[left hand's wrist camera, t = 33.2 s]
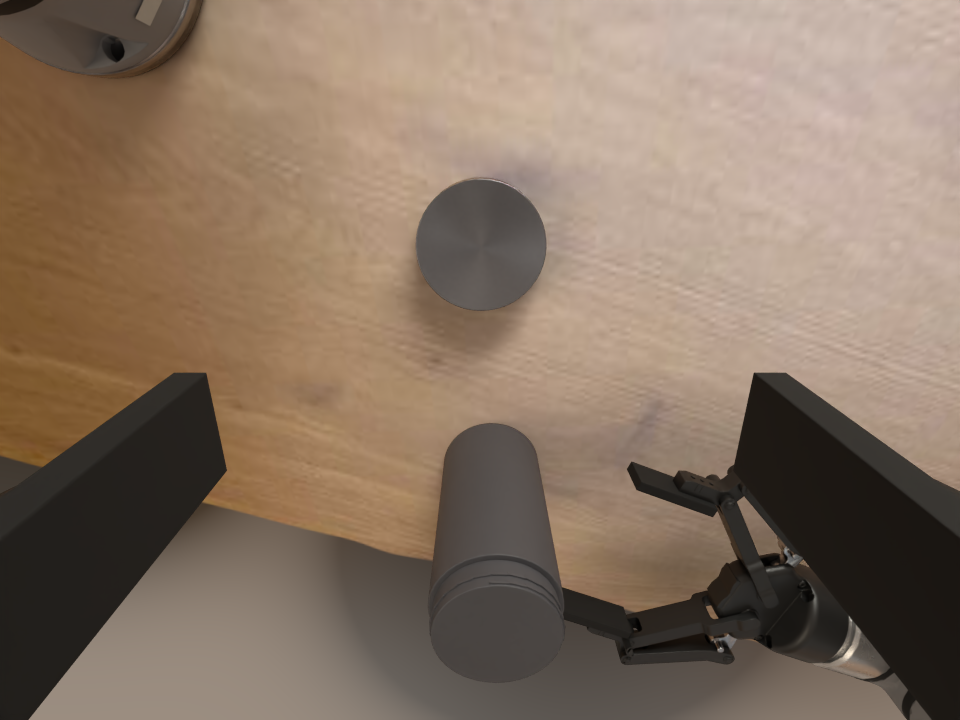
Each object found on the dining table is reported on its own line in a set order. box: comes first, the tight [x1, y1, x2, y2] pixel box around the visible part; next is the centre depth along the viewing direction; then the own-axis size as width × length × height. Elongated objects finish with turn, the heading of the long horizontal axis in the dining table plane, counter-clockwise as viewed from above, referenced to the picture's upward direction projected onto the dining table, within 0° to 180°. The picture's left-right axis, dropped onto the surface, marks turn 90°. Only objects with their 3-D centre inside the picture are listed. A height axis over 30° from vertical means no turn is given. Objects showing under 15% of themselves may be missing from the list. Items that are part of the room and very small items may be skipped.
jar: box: [428, 423, 565, 683], centre depth 38 cm, size 8×8×18 cm
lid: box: [416, 178, 546, 311], centre depth 38 cm, size 9×9×2 cm
